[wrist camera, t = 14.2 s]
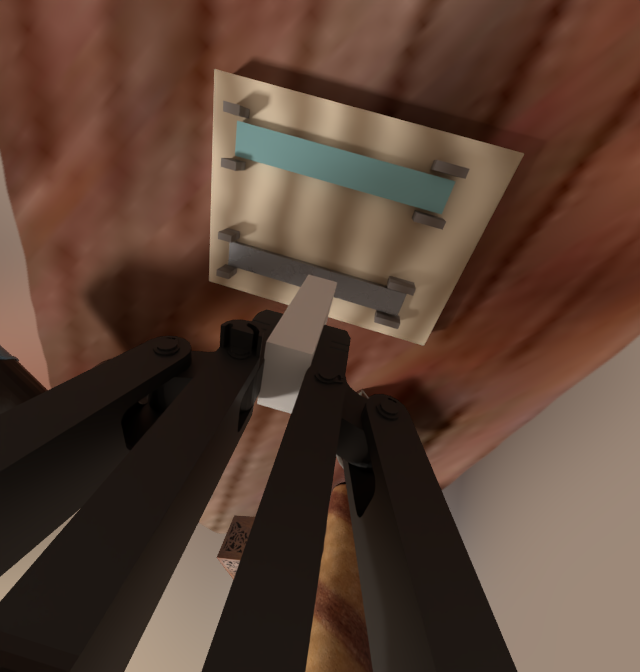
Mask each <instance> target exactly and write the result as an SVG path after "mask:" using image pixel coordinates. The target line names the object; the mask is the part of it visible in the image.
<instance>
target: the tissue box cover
mask: <svg viewBox="0 0 640 672" xmlns="http://www.w3.org/2000/svg"><path fill="white" fill-rule="evenodd" d="M254 520H255V517H246V516H234V518H233V520H232V523H231V525H230V527H229V530H228V532H227V534H226V537H225V539H224V541H223V544H222V546H221V549H220V551H219V554H218V556H217V558H218V560H219V561H220V562H221V564H222V565H223V566H224V568H225V569H226V570H227V572H228V573H229V574H230V576H231V577H232V578H233V580H234V577H235V574H236V571H237V568H238V565H239V563H240V560H241V557H242V554H243V551H244V548H245V545H246V543H247V540H248V537H249V534H250V531H251V528H252V525H253V522H254ZM326 529H327V524H326ZM325 535H326V531H325ZM324 541H325V538H324ZM323 551H324V545H323ZM322 555H323V552H322Z"/></svg>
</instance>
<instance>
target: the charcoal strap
mask: <svg viewBox="0 0 640 672" xmlns="http://www.w3.org/2000/svg"><path fill="white" fill-rule="evenodd" d="M228 265H230V266H233V267H236V268H239V269H243V270H246V271H249V272H253V273H256V274H259V275H263V276H266V277H269V278H272V279H276V280H279V281H282V282H286V283H289V284H292V285H296V286H299V287H301V286H302V284H303V282H304V281H305V279H306V278H307V276H308V274H309V275H312V276H316V277H320V278H323V279H327V280H331V281H334V282H337V285H336V289H335V293H334V297H335V298H339V299H342V300H345V301H348V302H352V303H355V304H358V305H362V306H365V307H368V308H372V309H375V310H378V311H381V312H385V313H388V314H391V315H395V316H398V313H399V311H400V309H401V307H402V304H403V302H404V300H405V297H406V295H407V294H405V293H402V292H398V291H395V290H392V289H388V288H387V286H385V285H382V284H378V283H375V282H372V281H368V280H365V279H362V278H358V277H355V276H351V275H348V274H345V273H341V272H338V271H335V270H331V269H328V268H325V267H321V266H318V265H315V264H311V263H308V262H305V261H301V260H298V259H295V258H291V257H288V256H284V255H281V254H278V253H274V252H271V251H268V250H264V249H261V248H258V247H254V246H251V245H248V244H244V243H241V242H238V241H233V242H231V243H229V259H228Z"/></svg>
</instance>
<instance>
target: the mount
mask: <svg viewBox="0 0 640 672" xmlns="http://www.w3.org/2000/svg"><path fill="white" fill-rule="evenodd" d="M237 121H240V122H244V123H248V124H251V125H255V126H258V127H262V128H266V129H269V130H273V131H276V132H280V133H284V134H287V135H291V136H294V137H298V138H301V139H305V140H309V141H312V142H316V143H319V144H323V145H327V146H330V147H334V148H337V149H341V150H345V151H348V152H352V153H355V154H359V155H363V156H366V157H370V158H373V159H377V160H380V161H384V162H388V163H391V164H395V165H398V166H402V167H406V168H409V169H413V170H416V171H420V172H424V173H427V174H431V175H434V176H438V177H441V178H445V179H449V180H452V181H456V182H455V184H454V187H453V189H452V191H451V194H450V196H449V198H448V201H447V203H446V205H445V208H444V210H443V212H442V214H438V213H435V212H431V211H428V210H424V209H421V208H417V207H414V206H410V205H407V204H403V203H400V202H396V201H393V200H389V199H386V198H382V197H379V196H375V195H372V194H368V193H365V192H361V191H358V190H354V189H351V188H347V187H343V186H340V185H336V184H333V183H329V182H326V181H322V180H319V179H315V178H312V177H308V176H305V175H301V174H298V173H294V172H291V171H287V170H284V169H280V168H277V167H273V166H270V165H266V164H263V163H259V162H256V161H252V160H249V159H245V158H242V157H238V156H235V146H236V130H237ZM524 154H525V153H521V152H517V151H514V150H510V149H506V148H503V147H499V146H495V145H492V144H488V143H484V142H481V141H477V140H473V139H470V138H466V137H462V136H459V135H455V134H451V133H448V132H444V131H440V130H437V129H433V128H429V127H426V126H422V125H418V124H415V123H411V122H407V121H404V120H400V119H396V118H393V117H389V116H385V115H382V114H378V113H374V112H371V111H367V110H363V109H360V108H356V107H352V106H349V105H345V104H341V103H338V102H334V101H330V100H327V99H323V98H319V97H315V96H312V95H308V94H304V93H301V92H297V91H293V90H290V89H286V88H282V87H279V86H275V85H271V84H268V83H264V82H260V81H257V80H253V79H249V78H246V77H242V76H238V75H235V74H231V73H227V72H224V71H220V70H216V69H214V107H213V146H212V185H211V224H210V262H209V281H210V282H214V283H217V284H220V285H224V286H227V287H230V288H234V289H237V290H240V291H244V292H247V293H250V294H254V295H257V296H260V297H264V298H267V299H270V300H274V301H277V302H280V303H284V304H287V305H290V303H291V301H292V300H293V298H294V297H295V295H296V294H297V292H298V290H299V289H300V287H299V286H296V285H292V284H289V283H286V282H282V281H279V280H276V279H272V278H269V277H266V276H263V275H259V274H256V273H253V272H249V271H246V270H243V269H239V268H236V267H233V266H230V265H228V259H229V243H231V242H233V241H238V242H241V243H244V244H248V245H251V246H254V247H258V248H261V249H264V250H268V251H271V252H274V253H278V254H281V255H284V256H288V257H291V258H295V259H298V260H301V261H305V262H308V263H311V264H315V265H318V266H321V267H325V268H328V269H331V270H335V271H338V272H341V273H345V274H348V275H351V276H355V277H358V278H362V279H365V280H368V281H372V282H375V283H378V284H382V285H385V286H387V288H388V289H392V290H395V291H398V292H402V293H405V294H407V295H406V297H405V300H404V302H403V304H402V307H401V309H400V311H399V313H398V316H395V315H391V314H388V313H385V312H381V311H378V310H375V309H372V308H368V307H365V306H362V305H358V304H355V303H352V302H348V301H345V300H342V299H339V298H335V297H333V300H332V304H331V308H330V312H329V315H328V317H330V318H333V319H337V320H340V321H343V322H347V323H350V324H353V325H357V326H360V327H363V328H367V329H370V330H373V331H377V332H380V333H383V334H387V335H390V336H393V337H396V338H400V339H403V340H406V341H410V342H413V343H416V344H420V345H423V346H424V344H425V342H426V341H427V339H428V337H429V335H430V333H431V331H432V329H433V327H434V325H435V323H436V321H437V320H438V318H439V316H440V314H441V312H442V310H443V308H444V306H445V304H446V302H447V301H448V299H449V297H450V295H451V293H452V291H453V289H454V287H455V285H456V283H457V281H458V280H459V278H460V276H461V274H462V272H463V270H464V268H465V266H466V264H467V262H468V260H469V259H470V257H471V255H472V253H473V251H474V249H475V247H476V245H477V243H478V241H479V239H480V238H481V236H482V234H483V232H484V230H485V228H486V226H487V224H488V222H489V220H490V218H491V217H492V215H493V213H494V211H495V209H496V207H497V205H498V203H499V201H500V199H501V198H502V196H503V194H504V192H505V190H506V188H507V186H508V184H509V182H510V180H511V178H512V177H513V175H514V173H515V171H516V169H517V167H518V165H519V163H520V161H521V159H522V157H523V156H524Z"/></svg>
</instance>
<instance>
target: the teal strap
mask: <svg viewBox="0 0 640 672" xmlns="http://www.w3.org/2000/svg"><path fill="white" fill-rule="evenodd" d="M235 156H238V157H242V158H245V159H249V160H252V161H256V162H259V163H263V164H266V165H270V166H273V167H277V168H280V169H284V170H287V171H291V172H294V173H298V174H301V175H305V176H308V177H312V178H315V179H319V180H322V181H326V182H329V183H333V184H336V185H340V186H343V187H347V188H351V189H354V190H358V191H361V192H365V193H368V194H372V195H375V196H379V197H382V198H386V199H389V200H393V201H396V202H400V203H403V204H407V205H410V206H414V207H417V208H421V209H424V210H428V211H431V212H435V213H438V214H442V212H443V210H444V208H445V205H446V203H447V201H448V198H449V196H450V194H451V191H452V189H453V187H454V184H455V182H456V181H452V180H449V179H445V178H441V177H438V176H434V175H431V174H427V173H424V172H420V171H416V170H413V169H409V168H406V167H402V166H398V165H395V164H391V163H388V162H384V161H380V160H377V159H373V158H370V157H366V156H363V155H359V154H355V153H352V152H348V151H345V150H341V149H337V148H334V147H330V146H327V145H323V144H319V143H316V142H312V141H309V140H305V139H301V138H298V137H294V136H291V135H287V134H284V133H280V132H276V131H273V130H269V129H266V128H262V127H258V126H255V125H251V124H248V123H244V122H240V121H237V130H236V146H235Z"/></svg>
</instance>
